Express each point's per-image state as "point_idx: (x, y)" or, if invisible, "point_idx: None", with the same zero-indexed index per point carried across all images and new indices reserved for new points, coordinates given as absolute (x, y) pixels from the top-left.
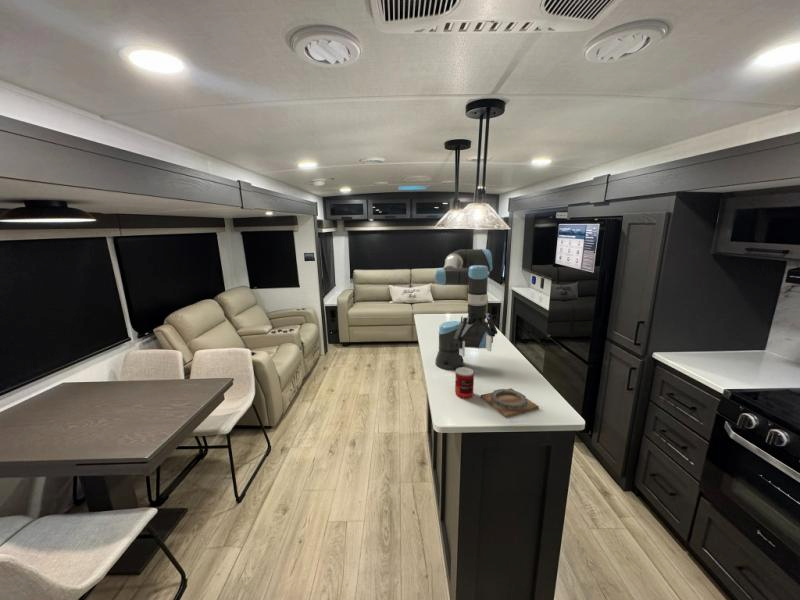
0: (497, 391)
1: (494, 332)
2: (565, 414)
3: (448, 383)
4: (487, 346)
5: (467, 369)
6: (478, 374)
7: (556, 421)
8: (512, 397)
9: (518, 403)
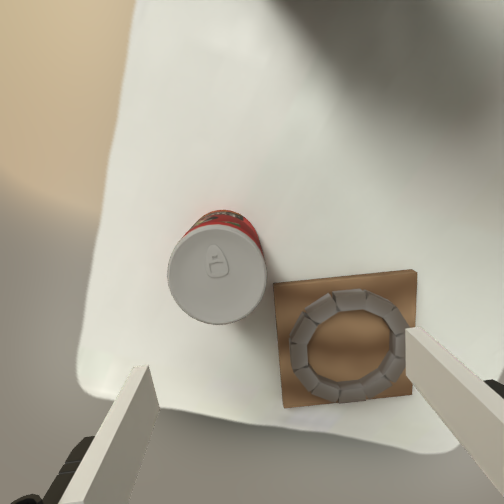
0: (338, 307)
1: None
2: None
3: (197, 136)
4: (424, 366)
5: (244, 257)
6: (380, 87)
7: (403, 443)
8: (373, 331)
9: (354, 391)
